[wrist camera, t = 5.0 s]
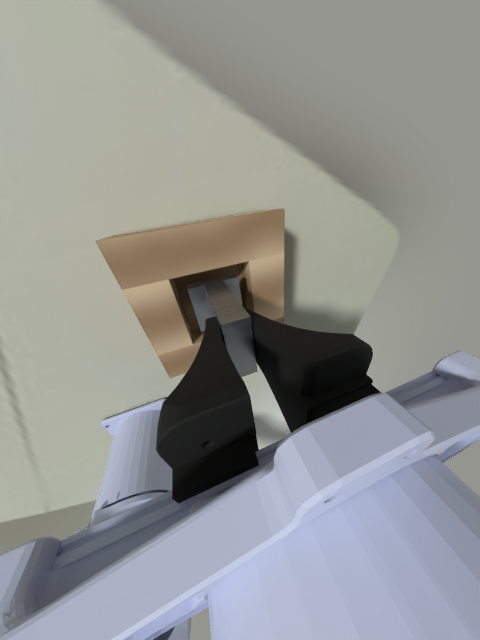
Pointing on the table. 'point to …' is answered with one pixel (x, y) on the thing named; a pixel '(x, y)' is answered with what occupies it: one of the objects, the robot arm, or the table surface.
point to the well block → (197, 275)
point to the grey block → (226, 318)
